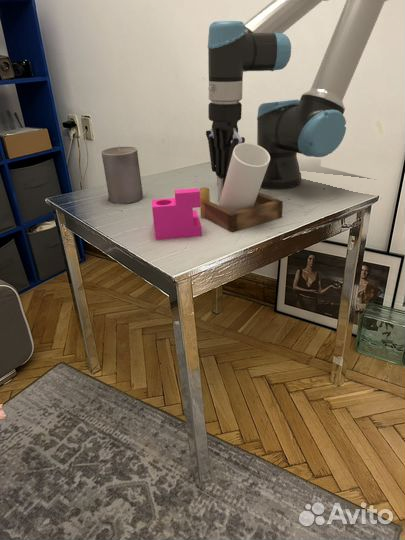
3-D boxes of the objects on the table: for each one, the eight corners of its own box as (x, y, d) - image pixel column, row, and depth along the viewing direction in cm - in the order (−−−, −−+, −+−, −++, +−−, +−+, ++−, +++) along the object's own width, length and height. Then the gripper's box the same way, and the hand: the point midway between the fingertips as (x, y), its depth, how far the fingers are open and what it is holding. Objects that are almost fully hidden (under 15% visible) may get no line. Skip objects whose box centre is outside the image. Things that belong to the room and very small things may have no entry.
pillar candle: (118, 192, 121) (110, 141, 113) (148, 194, 118) (142, 141, 111) (103, 203, 113) (93, 149, 105) (135, 205, 110) (127, 149, 103)
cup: (249, 223, 96) (268, 170, 84) (216, 214, 96) (230, 160, 84) (253, 201, 102) (272, 148, 89) (221, 193, 102) (236, 138, 89)
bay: (249, 202, 107) (249, 176, 104) (283, 216, 97) (284, 188, 94) (198, 216, 100) (197, 188, 97) (229, 232, 90) (229, 202, 87)
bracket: (201, 236, 89) (199, 191, 85) (155, 240, 89) (150, 195, 84) (196, 217, 100) (193, 176, 95) (154, 221, 99) (150, 180, 94)
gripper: (196, 100, 93) (197, 197, 105) (227, 105, 84) (225, 212, 95) (222, 98, 97) (221, 192, 108) (255, 103, 87) (250, 206, 99)
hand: (223, 201), depth 102 cm, fingers closed
